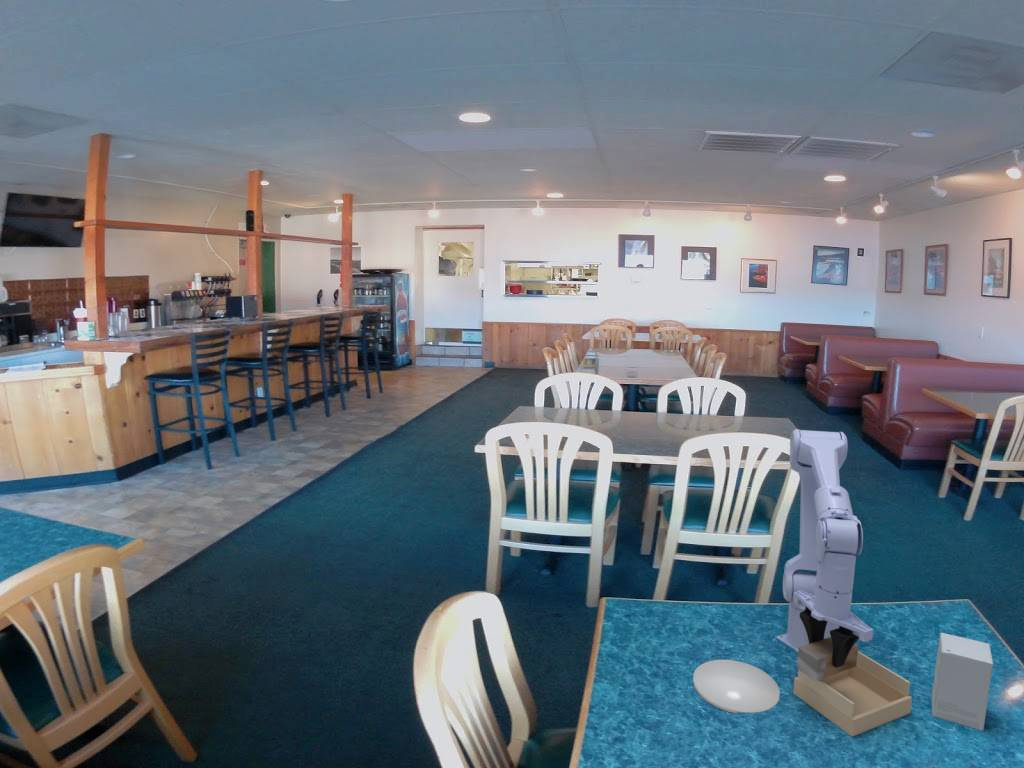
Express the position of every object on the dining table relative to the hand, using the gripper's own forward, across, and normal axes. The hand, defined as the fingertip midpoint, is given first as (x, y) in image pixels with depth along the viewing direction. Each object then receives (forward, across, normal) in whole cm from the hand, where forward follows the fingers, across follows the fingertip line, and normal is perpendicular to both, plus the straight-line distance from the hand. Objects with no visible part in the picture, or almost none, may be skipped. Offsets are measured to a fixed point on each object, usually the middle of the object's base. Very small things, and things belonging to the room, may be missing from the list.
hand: (826, 658), depth 116 cm
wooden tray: (+8, +3, +3) cm, 9 cm away
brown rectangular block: (+2, 0, 0) cm, 2 cm away
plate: (+8, -9, -11) cm, 17 cm away
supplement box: (+9, +12, +18) cm, 24 cm away
